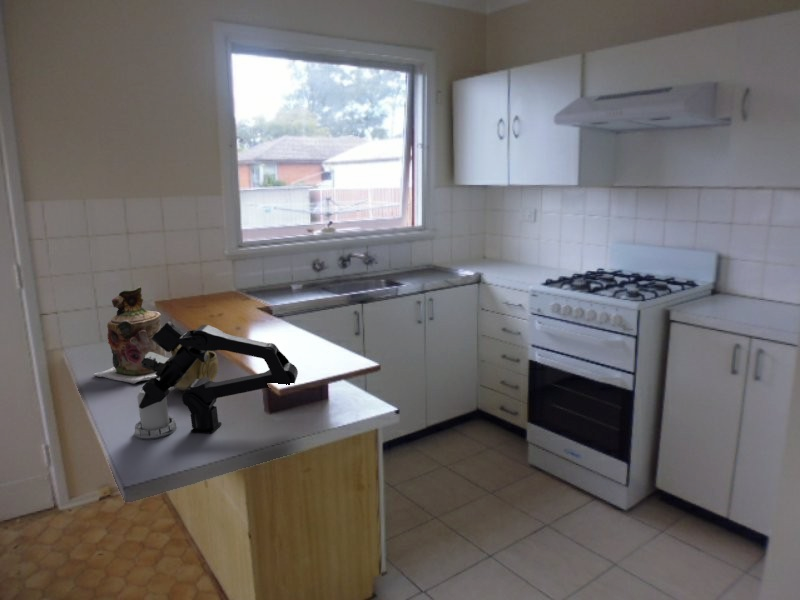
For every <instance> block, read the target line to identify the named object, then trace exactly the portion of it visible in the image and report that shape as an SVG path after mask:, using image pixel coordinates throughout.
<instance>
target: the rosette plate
mask: <svg viewBox="0 0 800 600" xmlns="http://www.w3.org/2000/svg"><path fill="white" fill-rule="evenodd" d="M169 422H170V423H169V425H167V426H165V427H162V428H159V429H154V430H143V429H142V426H141V420H139V421H138V422H136V424H135V425H134V434H135V435H134V436H135V438H137V439H138V440H141V441H142V440H143V441H150V440H156V439H157V440H158V439H162V438H165V437H167V436H170V435H171V434H173V433H174V432H176V430H177V423H176V420H175V417H173V416H171V415H169Z"/></svg>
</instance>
